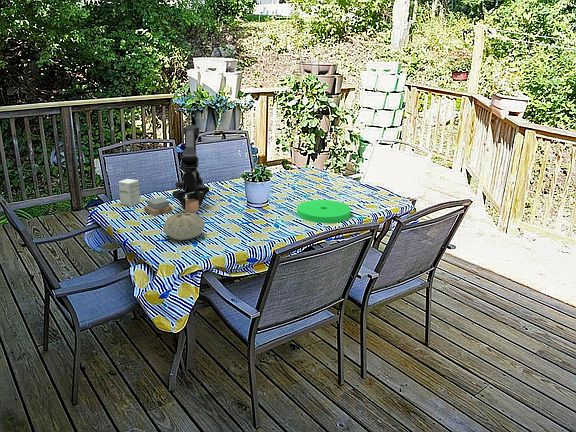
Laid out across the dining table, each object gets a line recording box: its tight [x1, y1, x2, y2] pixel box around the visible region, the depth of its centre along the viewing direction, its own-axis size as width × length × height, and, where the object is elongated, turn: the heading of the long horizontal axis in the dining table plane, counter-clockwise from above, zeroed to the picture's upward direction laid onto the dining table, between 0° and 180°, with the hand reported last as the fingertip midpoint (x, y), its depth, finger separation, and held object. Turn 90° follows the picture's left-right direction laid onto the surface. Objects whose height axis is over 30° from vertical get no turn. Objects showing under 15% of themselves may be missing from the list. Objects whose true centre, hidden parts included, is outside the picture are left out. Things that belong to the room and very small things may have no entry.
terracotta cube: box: [184, 198, 200, 213], centre depth 256 cm, size 5×5×5 cm
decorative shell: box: [163, 211, 205, 241], centre depth 222 cm, size 18×18×10 cm
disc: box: [296, 199, 352, 224], centre depth 254 cm, size 27×27×3 cm
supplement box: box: [118, 178, 141, 207], centre depth 262 cm, size 7×7×13 cm
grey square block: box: [146, 196, 170, 210], centre depth 253 cm, size 8×8×3 cm
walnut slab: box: [143, 205, 173, 217], centre depth 253 cm, size 10×10×3 cm
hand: (191, 207), depth 256 cm, fingers open, 9 cm apart
